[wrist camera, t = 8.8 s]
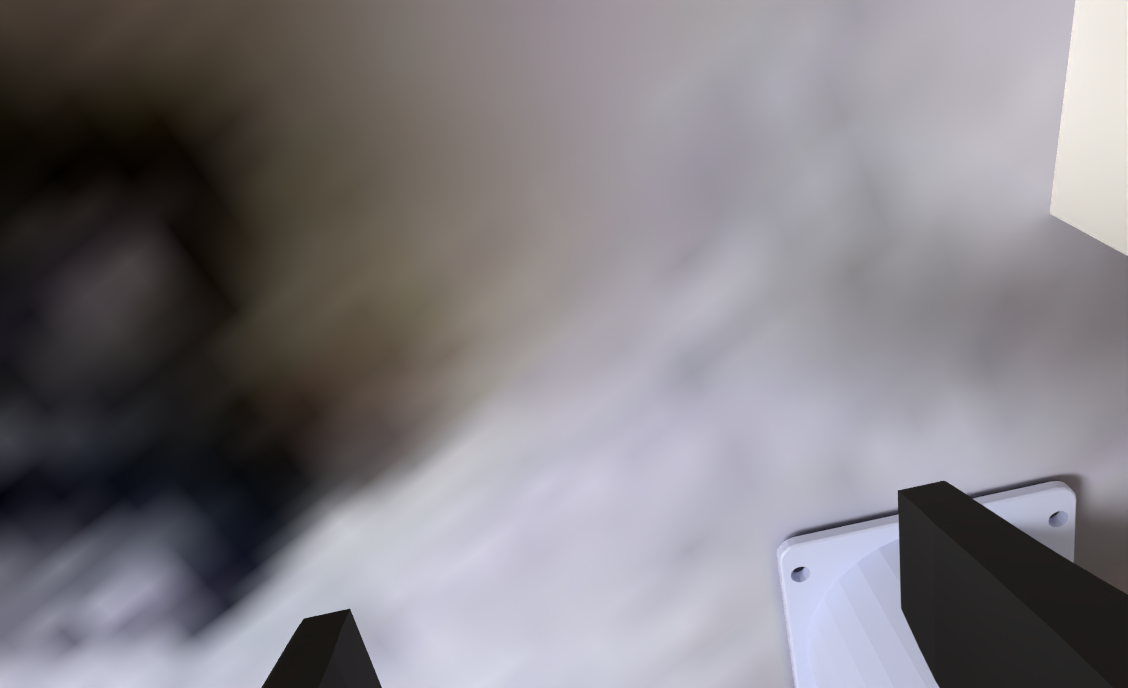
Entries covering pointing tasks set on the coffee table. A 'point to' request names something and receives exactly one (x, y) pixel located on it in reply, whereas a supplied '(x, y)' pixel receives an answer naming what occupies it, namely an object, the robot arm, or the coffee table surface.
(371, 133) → the coffee table surface
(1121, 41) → the base box
